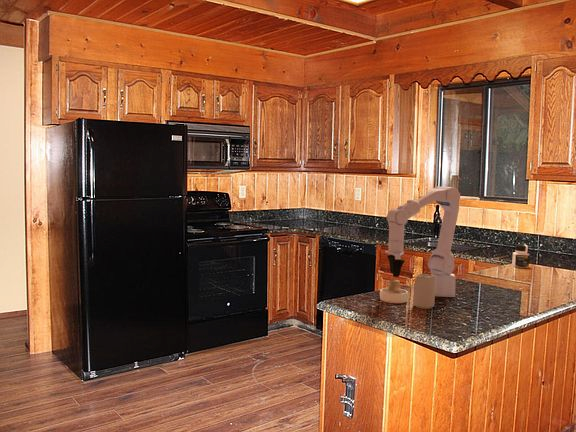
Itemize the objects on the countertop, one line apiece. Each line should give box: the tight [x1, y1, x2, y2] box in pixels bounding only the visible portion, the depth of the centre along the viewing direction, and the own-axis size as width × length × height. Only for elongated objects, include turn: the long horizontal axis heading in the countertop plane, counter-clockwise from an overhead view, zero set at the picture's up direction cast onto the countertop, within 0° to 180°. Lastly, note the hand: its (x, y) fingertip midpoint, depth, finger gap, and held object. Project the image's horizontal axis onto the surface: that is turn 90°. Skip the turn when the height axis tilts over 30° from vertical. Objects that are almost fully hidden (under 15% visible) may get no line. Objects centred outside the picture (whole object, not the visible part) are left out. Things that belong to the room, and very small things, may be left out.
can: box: [413, 273, 436, 310], centre depth 204 cm, size 8×8×12 cm
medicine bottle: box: [511, 243, 531, 269], centre depth 295 cm, size 7×7×12 cm
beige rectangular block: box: [387, 279, 401, 294], centre depth 214 cm, size 4×2×7 cm, turn 86°
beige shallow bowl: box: [379, 287, 409, 304], centre depth 214 cm, size 10×10×4 cm
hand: (394, 274), depth 214 cm, fingers open, 7 cm apart
